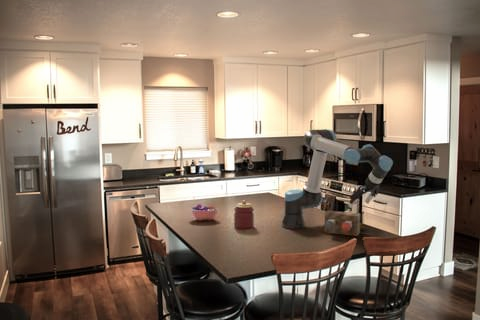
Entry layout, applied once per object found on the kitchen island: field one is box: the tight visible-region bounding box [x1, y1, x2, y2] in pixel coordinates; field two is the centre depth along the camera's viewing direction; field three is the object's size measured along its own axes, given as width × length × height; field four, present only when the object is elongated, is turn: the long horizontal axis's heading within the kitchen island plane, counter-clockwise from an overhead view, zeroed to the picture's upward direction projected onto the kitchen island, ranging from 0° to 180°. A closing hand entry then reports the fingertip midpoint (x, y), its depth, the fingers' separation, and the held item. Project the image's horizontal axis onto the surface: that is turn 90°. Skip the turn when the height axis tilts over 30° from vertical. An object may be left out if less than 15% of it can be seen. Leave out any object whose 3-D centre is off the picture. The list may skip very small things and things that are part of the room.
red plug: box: [341, 220, 353, 232], centre depth 259 cm, size 5×13×5 cm, turn 154°
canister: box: [233, 199, 255, 230], centre depth 280 cm, size 13×13×18 cm
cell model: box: [189, 203, 219, 222], centre depth 300 cm, size 17×20×11 cm
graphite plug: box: [324, 218, 336, 230], centre depth 263 cm, size 5×13×5 cm, turn 154°
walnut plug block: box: [323, 210, 361, 237], centre depth 268 cm, size 20×8×12 cm, turn 64°
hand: (358, 204), depth 258 cm, fingers open, 13 cm apart
